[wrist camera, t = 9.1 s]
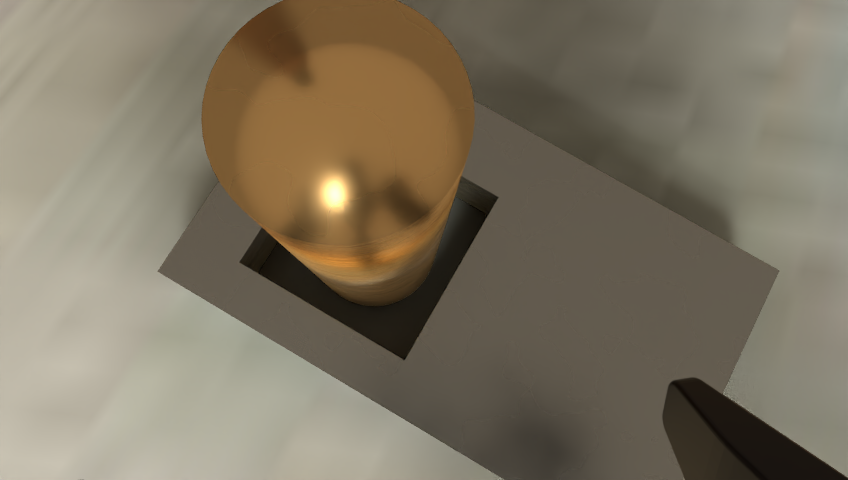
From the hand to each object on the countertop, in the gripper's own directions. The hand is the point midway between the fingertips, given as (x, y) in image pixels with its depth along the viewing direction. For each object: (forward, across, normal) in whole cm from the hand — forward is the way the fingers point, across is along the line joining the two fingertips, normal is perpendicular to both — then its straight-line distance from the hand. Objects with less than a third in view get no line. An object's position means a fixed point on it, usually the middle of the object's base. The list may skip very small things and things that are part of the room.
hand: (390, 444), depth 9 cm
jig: (+11, -3, +5) cm, 12 cm away
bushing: (+12, 0, +4) cm, 13 cm away
